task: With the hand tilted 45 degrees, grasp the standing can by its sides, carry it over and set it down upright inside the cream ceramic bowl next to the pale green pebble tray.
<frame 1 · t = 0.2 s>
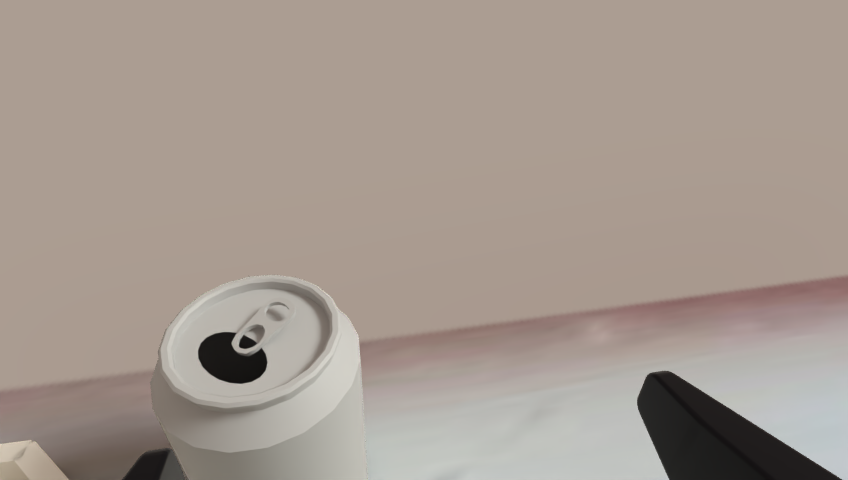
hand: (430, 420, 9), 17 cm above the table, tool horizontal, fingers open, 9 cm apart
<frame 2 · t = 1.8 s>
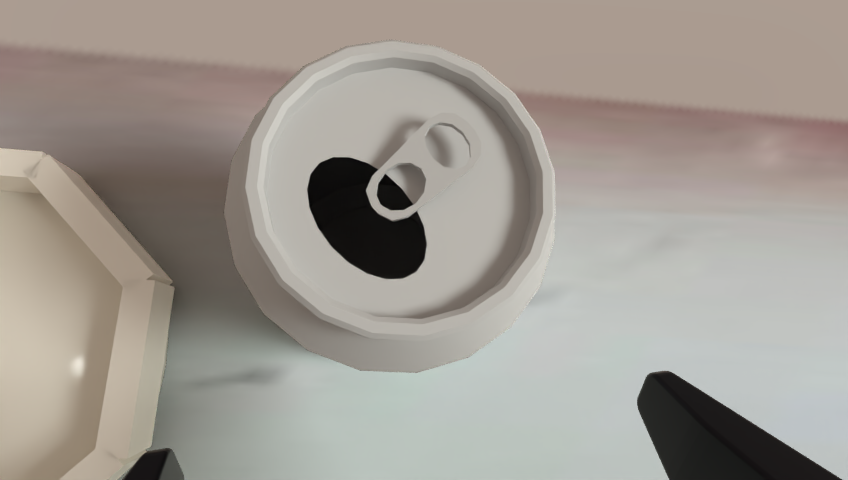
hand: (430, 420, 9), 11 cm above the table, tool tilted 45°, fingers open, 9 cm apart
can: (372, 273, 21), on the table
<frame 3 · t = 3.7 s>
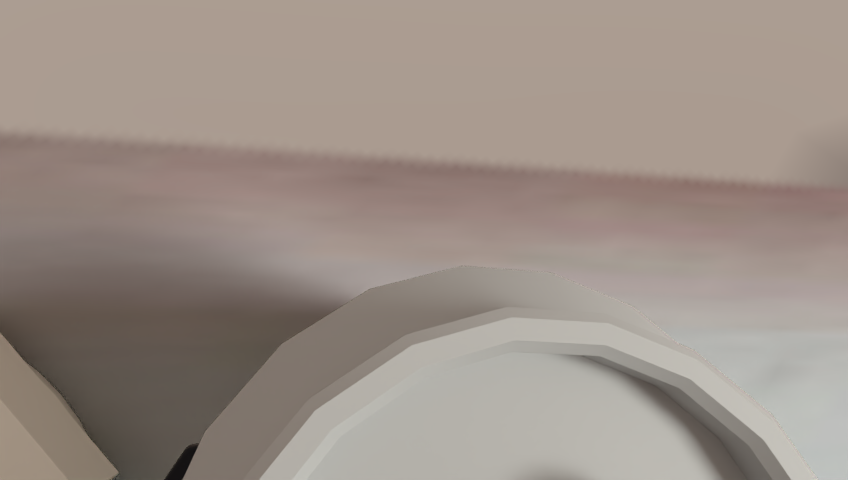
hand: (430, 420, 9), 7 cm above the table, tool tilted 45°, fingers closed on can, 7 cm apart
can: (399, 434, 15), on the table, touching gripper
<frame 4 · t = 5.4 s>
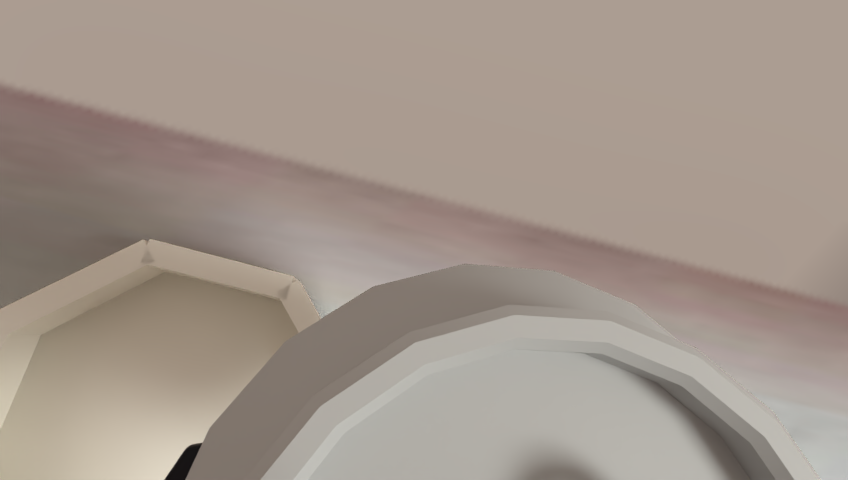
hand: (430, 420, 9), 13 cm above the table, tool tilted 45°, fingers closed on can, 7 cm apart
bowl: (179, 433, 20), on the table
can: (400, 432, 15), point 7 cm above the table, touching gripper
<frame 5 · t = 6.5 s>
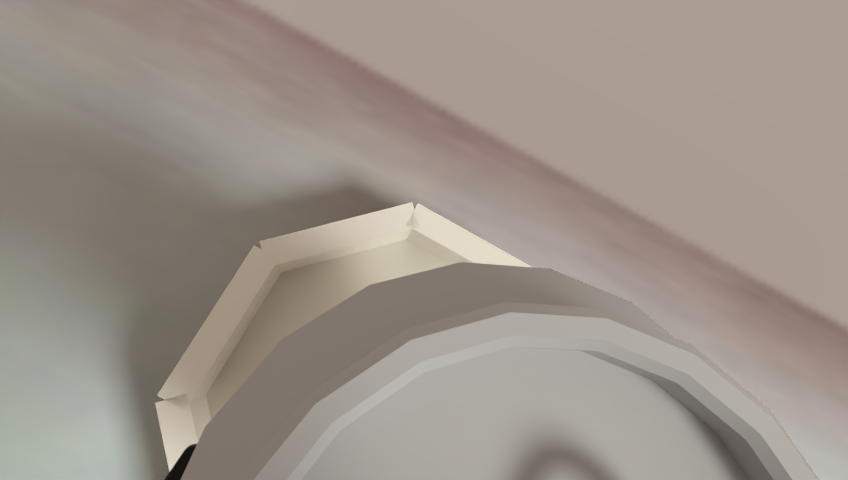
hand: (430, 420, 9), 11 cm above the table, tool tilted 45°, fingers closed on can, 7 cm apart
bowl: (387, 406, 19), on the table
can: (398, 431, 15), point 4 cm above the table, touching gripper
when the fingers open (9 cm above the table, at t = 7.5 s): can drops 1 cm, resting on bowl.
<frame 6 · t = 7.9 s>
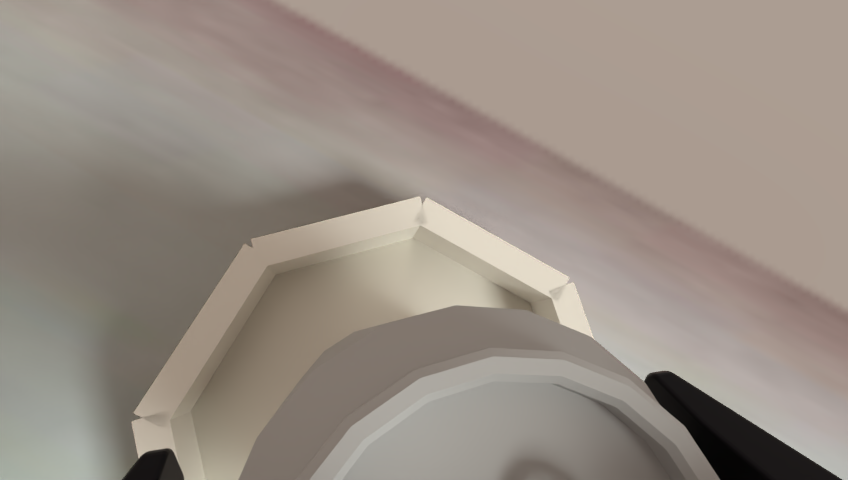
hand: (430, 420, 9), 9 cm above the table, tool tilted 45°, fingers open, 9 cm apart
bowl: (392, 422, 17), on the table
can: (393, 430, 17), point 1 cm above the table, touching bowl
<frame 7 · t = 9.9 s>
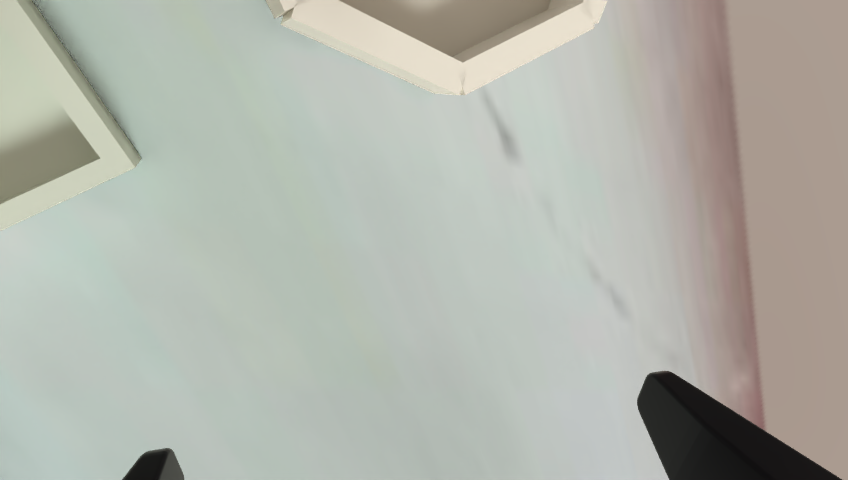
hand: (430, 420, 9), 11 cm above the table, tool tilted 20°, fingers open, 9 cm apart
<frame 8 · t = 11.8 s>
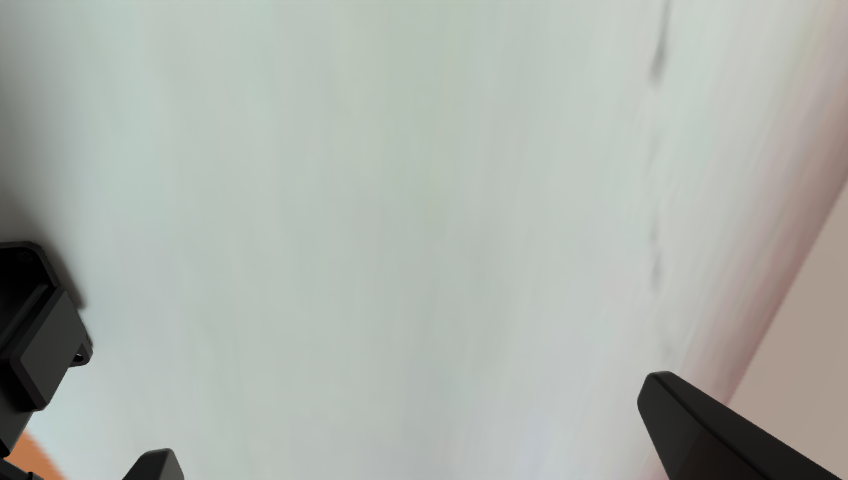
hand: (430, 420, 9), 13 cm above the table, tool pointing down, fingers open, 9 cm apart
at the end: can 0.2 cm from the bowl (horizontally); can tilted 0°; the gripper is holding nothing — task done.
